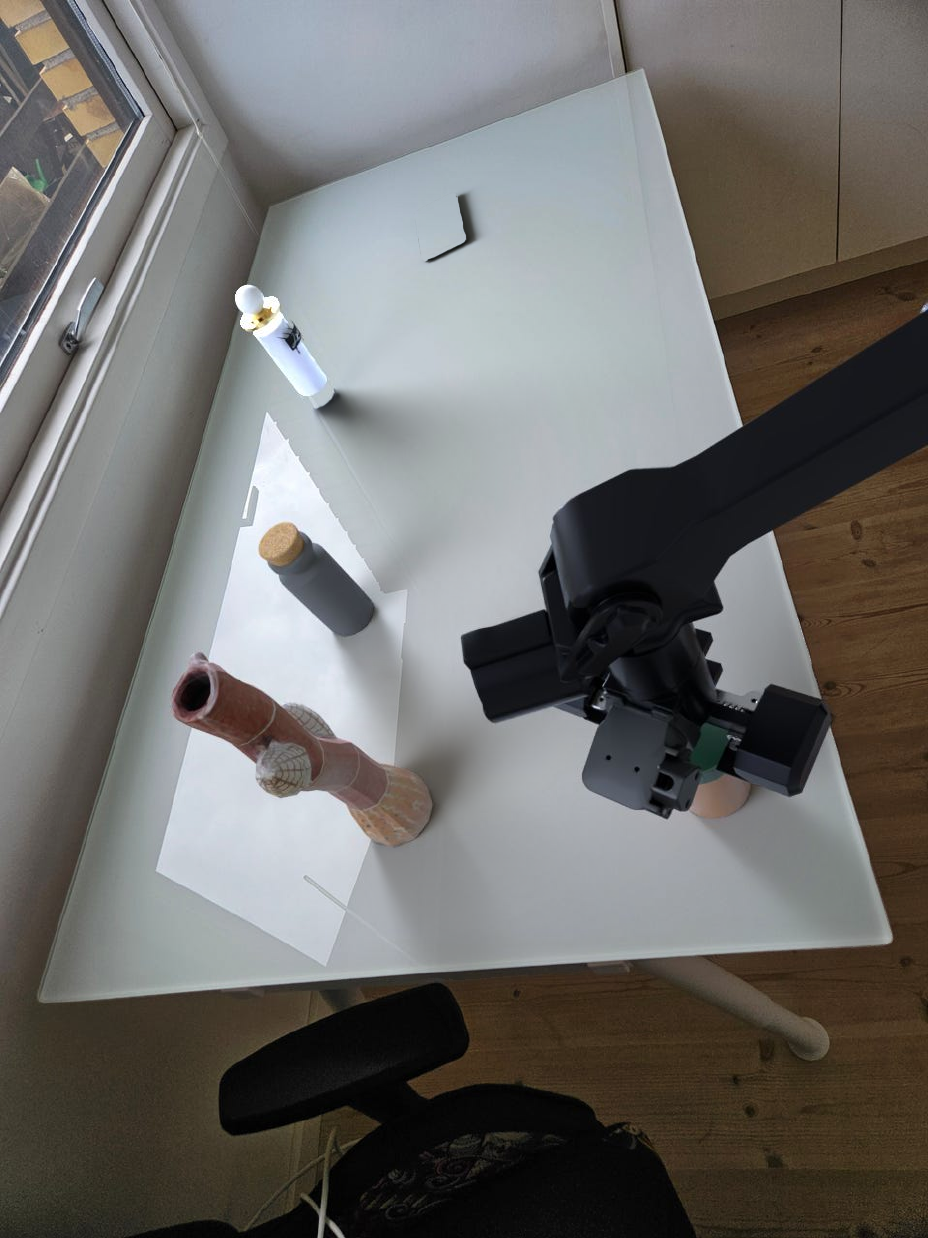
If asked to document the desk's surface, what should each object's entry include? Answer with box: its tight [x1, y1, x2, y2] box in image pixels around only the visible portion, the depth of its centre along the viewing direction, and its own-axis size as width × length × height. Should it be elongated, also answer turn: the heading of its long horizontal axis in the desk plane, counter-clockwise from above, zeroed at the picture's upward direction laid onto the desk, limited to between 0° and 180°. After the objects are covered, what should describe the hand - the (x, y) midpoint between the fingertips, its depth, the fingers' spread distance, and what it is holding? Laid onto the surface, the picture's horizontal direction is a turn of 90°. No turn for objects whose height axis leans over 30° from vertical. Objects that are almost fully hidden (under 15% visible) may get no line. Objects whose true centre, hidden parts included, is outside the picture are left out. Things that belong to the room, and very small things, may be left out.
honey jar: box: [688, 773, 752, 819], centre depth 63 cm, size 6×6×10 cm
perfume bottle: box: [235, 284, 328, 396], centre depth 111 cm, size 6×6×20 cm
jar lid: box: [690, 702, 729, 785], centre depth 60 cm, size 7×7×2 cm
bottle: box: [257, 521, 374, 637], centre depth 88 cm, size 6×6×15 cm
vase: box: [169, 651, 434, 848], centre depth 66 cm, size 10×7×30 cm
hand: (697, 749), depth 62 cm, fingers closed on jar lid, 6 cm apart
